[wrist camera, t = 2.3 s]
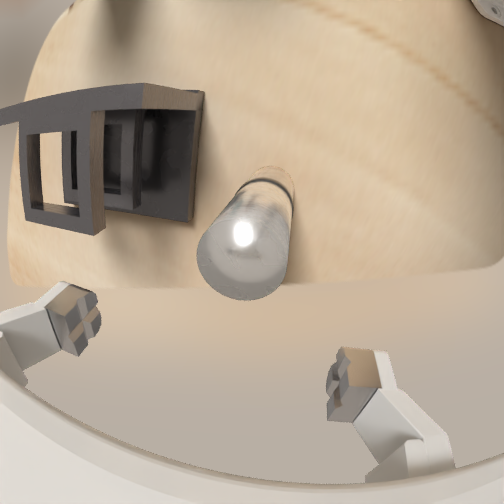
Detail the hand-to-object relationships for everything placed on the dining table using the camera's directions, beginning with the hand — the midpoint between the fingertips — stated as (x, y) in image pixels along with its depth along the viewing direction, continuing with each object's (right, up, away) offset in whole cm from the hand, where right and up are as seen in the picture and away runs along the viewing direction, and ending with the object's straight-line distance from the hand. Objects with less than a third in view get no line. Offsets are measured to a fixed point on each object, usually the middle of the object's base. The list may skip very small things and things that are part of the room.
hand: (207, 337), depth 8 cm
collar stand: (-11, +13, +17) cm, 24 cm away
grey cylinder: (+3, +8, +16) cm, 19 cm away
